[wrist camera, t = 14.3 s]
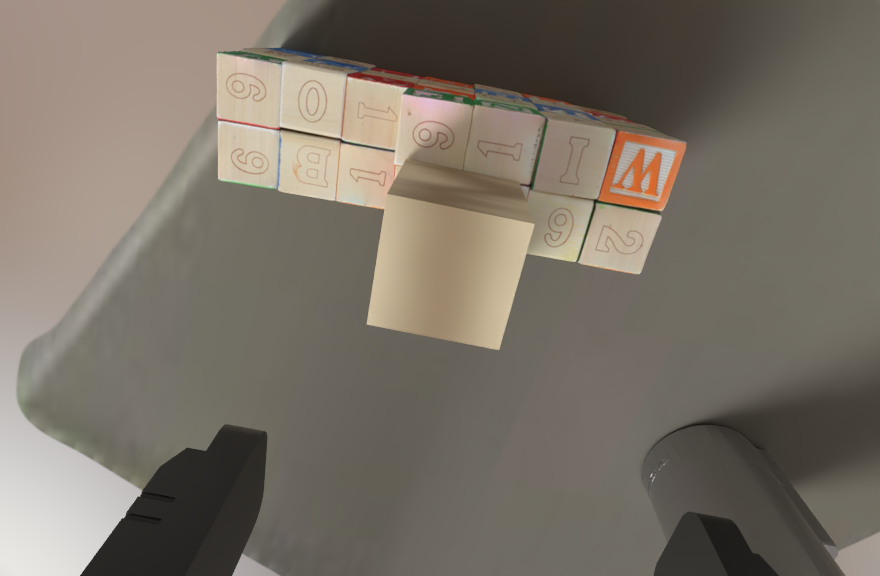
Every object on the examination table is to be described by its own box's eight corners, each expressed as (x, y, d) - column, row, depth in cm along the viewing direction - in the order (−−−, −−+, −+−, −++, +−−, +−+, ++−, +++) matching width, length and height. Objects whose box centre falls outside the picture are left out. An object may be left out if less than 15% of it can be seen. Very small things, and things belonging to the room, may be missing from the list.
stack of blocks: (274, 147, 35) (185, 195, 24) (279, 45, 33) (181, 46, 21) (588, 206, 36) (643, 278, 25) (617, 110, 33) (693, 143, 22)
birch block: (519, 181, 23) (534, 224, 18) (492, 284, 25) (499, 350, 20) (406, 158, 23) (386, 193, 18) (388, 263, 25) (366, 324, 20)
